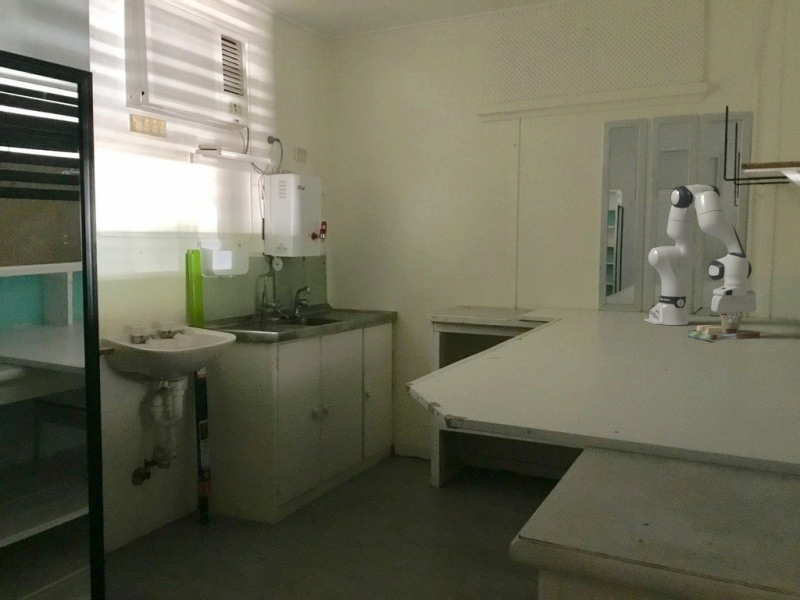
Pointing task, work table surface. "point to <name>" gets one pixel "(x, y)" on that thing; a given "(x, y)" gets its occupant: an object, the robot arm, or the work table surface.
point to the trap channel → (727, 335)
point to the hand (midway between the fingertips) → (732, 322)
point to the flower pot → (727, 324)
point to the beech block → (711, 330)
